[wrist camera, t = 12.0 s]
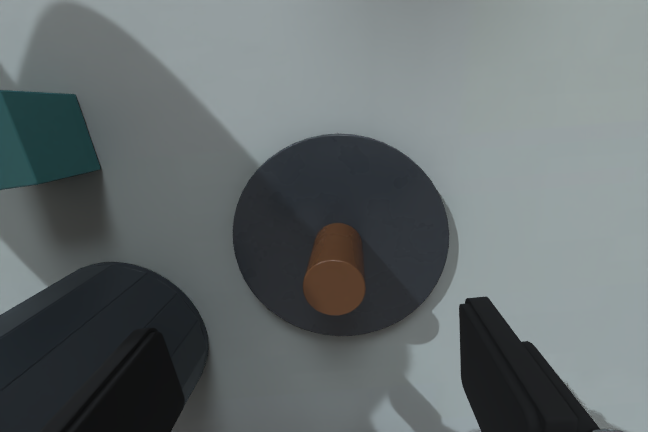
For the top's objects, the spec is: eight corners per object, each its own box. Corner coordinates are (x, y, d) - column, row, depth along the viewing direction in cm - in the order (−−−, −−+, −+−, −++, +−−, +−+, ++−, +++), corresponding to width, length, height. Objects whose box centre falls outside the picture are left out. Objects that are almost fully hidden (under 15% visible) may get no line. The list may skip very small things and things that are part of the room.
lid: (217, 149, 20) (160, 167, 14) (439, 117, 18) (481, 120, 12) (261, 331, 23) (230, 407, 17) (447, 317, 22) (483, 394, 16)
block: (8, 105, 20) (-84, 104, 16) (75, 93, 19) (-2, 89, 15) (38, 178, 21) (-40, 195, 17) (101, 169, 20) (37, 184, 16)
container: (27, 270, 23) (-315, 439, 11) (184, 253, 22) (-17, 426, 10) (86, 401, 26) (-130, 638, 15) (225, 394, 25) (111, 648, 13)
